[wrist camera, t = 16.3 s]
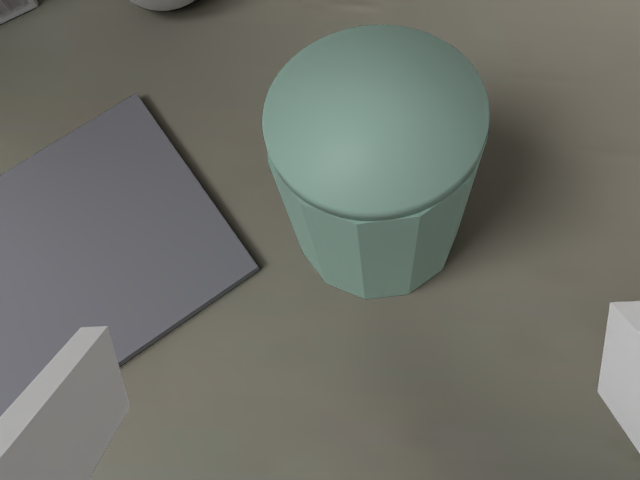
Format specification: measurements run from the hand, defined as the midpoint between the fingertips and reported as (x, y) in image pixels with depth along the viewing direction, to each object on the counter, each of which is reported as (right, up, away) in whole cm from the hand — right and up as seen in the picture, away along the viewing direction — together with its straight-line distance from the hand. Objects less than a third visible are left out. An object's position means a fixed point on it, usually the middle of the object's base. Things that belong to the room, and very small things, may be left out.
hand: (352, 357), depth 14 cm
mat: (-17, +3, +22) cm, 28 cm away
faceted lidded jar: (+3, +4, +20) cm, 21 cm away
